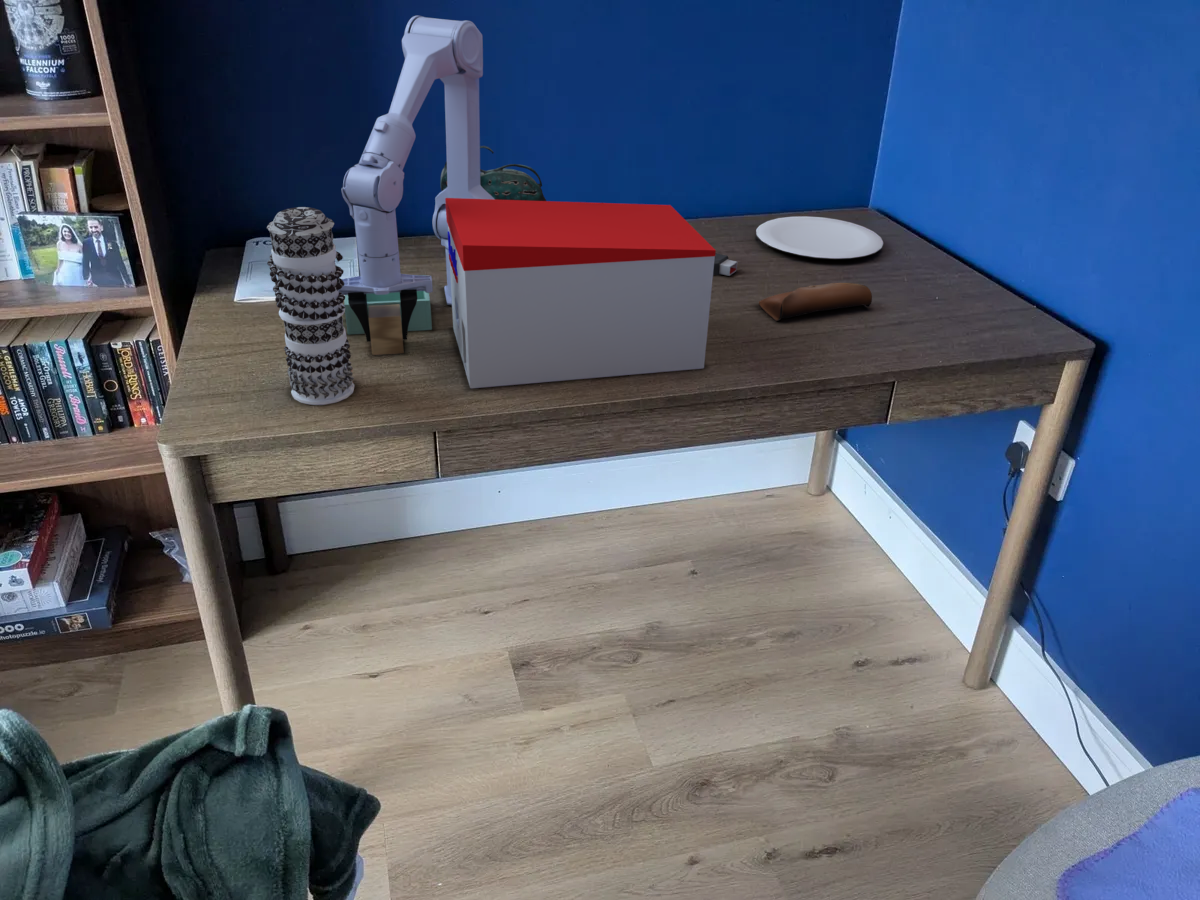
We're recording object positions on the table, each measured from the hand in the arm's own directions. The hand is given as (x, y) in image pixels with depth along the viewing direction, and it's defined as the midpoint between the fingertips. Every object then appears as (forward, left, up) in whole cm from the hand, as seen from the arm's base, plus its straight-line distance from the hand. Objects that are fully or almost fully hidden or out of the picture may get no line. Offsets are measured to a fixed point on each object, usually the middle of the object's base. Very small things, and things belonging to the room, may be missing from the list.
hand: (386, 338), depth 143 cm
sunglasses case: (-71, -6, -2) cm, 71 cm away
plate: (-85, -37, -2) cm, 93 cm away
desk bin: (-1, -11, -2) cm, 11 cm away
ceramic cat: (-21, -40, -2) cm, 45 cm away
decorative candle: (+9, +12, -2) cm, 16 cm away
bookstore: (-28, +4, -2) cm, 28 cm away
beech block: (0, 0, -2) cm, 2 cm away
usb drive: (-58, -27, -2) cm, 64 cm away
